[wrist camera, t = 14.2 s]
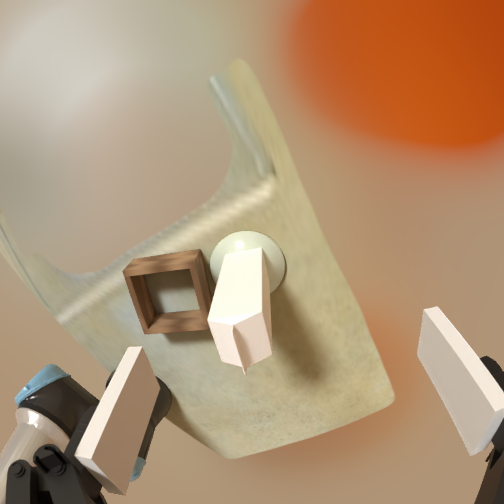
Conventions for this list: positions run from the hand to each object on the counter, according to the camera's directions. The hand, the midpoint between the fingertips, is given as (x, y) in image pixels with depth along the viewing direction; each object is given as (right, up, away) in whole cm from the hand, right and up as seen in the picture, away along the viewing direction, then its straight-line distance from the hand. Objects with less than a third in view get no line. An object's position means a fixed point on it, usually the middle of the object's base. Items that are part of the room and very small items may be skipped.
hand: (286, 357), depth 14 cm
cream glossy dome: (-2, +2, +39) cm, 39 cm away
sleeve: (-15, -1, +40) cm, 43 cm away
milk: (-2, +2, +38) cm, 38 cm away
